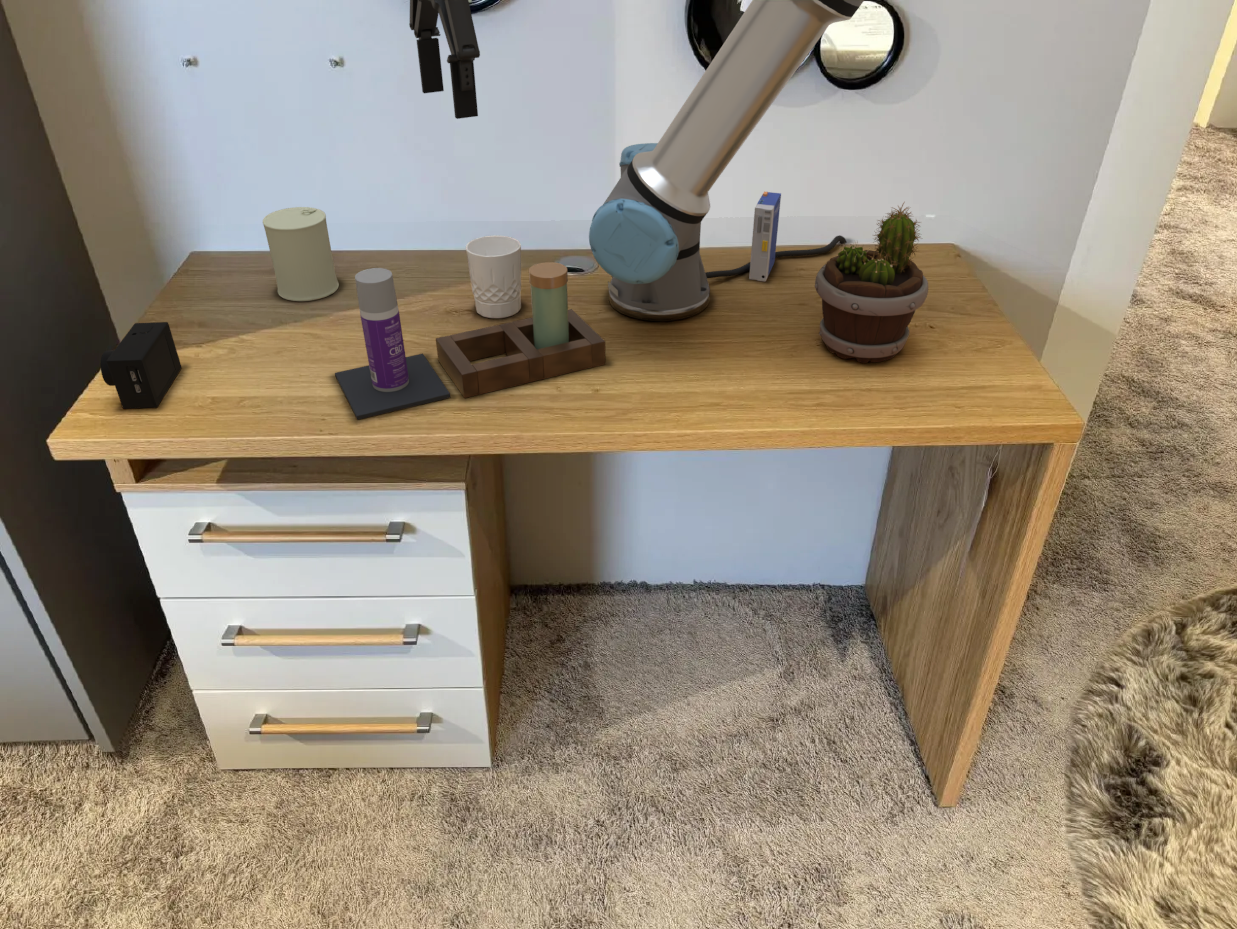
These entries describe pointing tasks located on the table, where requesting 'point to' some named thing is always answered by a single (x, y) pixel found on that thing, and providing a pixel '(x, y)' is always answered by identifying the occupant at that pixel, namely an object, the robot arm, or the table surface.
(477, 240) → the white cup
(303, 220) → the can
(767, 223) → the walkman
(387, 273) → the container
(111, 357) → the digital camera
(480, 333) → the bottle rack
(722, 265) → the table surface
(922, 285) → the flowerpot
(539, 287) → the spice jar
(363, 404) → the mat
